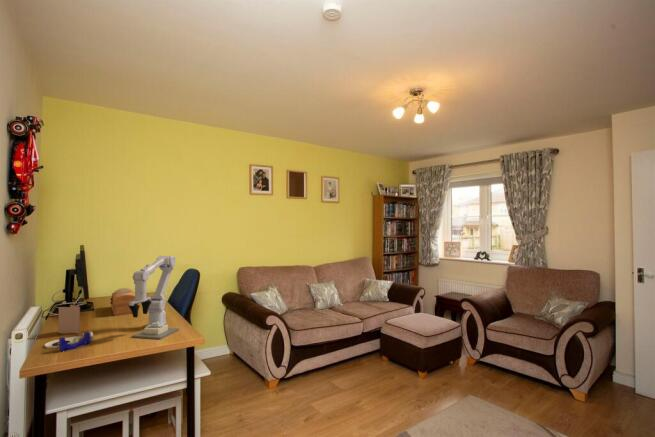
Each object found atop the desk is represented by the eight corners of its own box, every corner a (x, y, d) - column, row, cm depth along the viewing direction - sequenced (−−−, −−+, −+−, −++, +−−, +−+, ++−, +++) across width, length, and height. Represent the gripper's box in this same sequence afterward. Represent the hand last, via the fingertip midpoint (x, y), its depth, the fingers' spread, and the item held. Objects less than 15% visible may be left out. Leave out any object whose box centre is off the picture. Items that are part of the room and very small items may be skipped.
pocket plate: (152, 328, 198) (152, 321, 198) (179, 330, 194) (179, 323, 194) (131, 337, 182) (131, 330, 182) (160, 339, 179) (160, 331, 179)
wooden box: (109, 307, 249) (109, 289, 249) (134, 304, 259) (134, 286, 259) (110, 316, 224) (110, 296, 225) (138, 312, 234) (138, 293, 234)
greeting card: (81, 332, 191) (81, 306, 191) (65, 336, 184) (66, 309, 185) (72, 329, 197) (72, 304, 197) (56, 333, 190) (57, 306, 190)
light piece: (93, 335, 177) (44, 345, 164) (93, 341, 177) (44, 351, 164) (91, 330, 186) (45, 338, 173) (91, 336, 186) (45, 344, 173)
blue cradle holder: (62, 352, 162) (62, 339, 162) (59, 350, 164) (59, 338, 164) (90, 344, 171) (90, 333, 171) (87, 343, 174) (87, 331, 174)
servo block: (149, 330, 190) (149, 321, 190) (165, 331, 190) (165, 321, 190) (146, 332, 187) (146, 322, 187) (162, 332, 187) (162, 322, 187)
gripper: (143, 289, 198) (143, 312, 197) (124, 294, 183) (124, 318, 183) (154, 289, 197) (153, 312, 196) (135, 294, 182) (135, 319, 182)
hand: (140, 315), depth 189 cm, fingers open, 7 cm apart
